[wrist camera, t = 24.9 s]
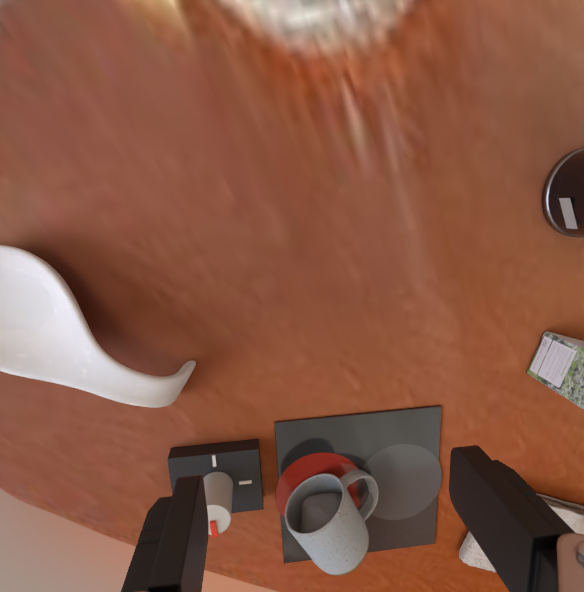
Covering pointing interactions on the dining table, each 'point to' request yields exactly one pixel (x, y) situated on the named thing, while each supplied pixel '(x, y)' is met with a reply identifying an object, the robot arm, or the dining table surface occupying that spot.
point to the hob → (368, 470)
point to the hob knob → (218, 501)
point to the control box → (223, 469)
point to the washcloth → (571, 513)
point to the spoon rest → (65, 338)
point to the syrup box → (560, 366)
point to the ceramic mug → (331, 520)
